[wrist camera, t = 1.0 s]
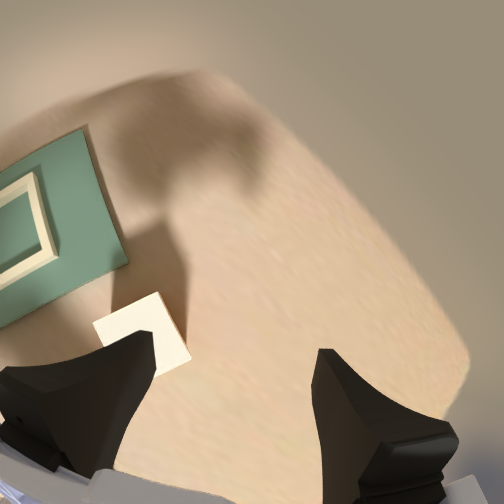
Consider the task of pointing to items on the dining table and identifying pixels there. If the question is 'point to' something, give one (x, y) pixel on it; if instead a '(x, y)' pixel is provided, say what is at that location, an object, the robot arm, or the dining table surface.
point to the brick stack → (148, 319)
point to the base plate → (52, 228)
